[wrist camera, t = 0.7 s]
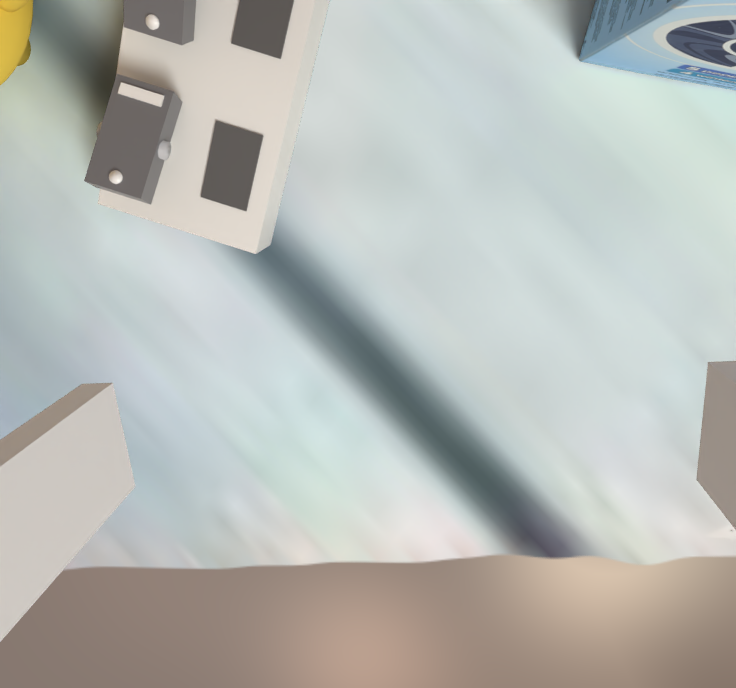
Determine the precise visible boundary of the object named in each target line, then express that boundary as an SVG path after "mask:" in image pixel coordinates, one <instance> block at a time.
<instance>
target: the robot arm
mask: <svg viewBox="0 0 736 688" xmlns="http://www.w3.org/2000/svg"><path fill="white" fill-rule="evenodd" d="M697 481H698V482H699V483H700V485H701V486H702V487H703V488H704V490H705V491H706V492H707V494H708V495H709V496H710V497H711V499H712V500H713V501H714V502H715V504H716V505H717V506H718V508H719V509H720V510H721V511H722V513H723V514H724V515H725V517H726V518H727V519H728V520H729V522H730V523H731V524H732V526H733V527H734V528H735V529H736V361H726V362H708V369H707V379H706V389H705V399H704V409H703V419H702V429H701V439H700V449H699V459H698V469H697ZM134 488H135V483H134V478H133V473H132V469H131V464H130V460H129V455H128V451H127V446H126V441H125V437H124V432H123V428H122V423H121V419H120V414H119V409H118V405H117V400H116V396H115V391H114V387H113V383H96V384H81V385H80V386H78V387H77V388H75V389H74V390H73V391H71V392H70V393H68V394H67V395H65V396H64V397H62V398H61V399H59V400H58V401H56V402H55V403H54V404H52V405H51V406H49V407H48V408H46V409H45V410H43V411H42V412H40V413H39V414H37V415H36V416H34V417H33V418H32V419H30V420H29V421H27V422H26V423H24V424H23V425H21V426H20V427H18V428H17V429H15V430H14V431H13V432H11V433H10V434H8V435H7V436H5V437H4V438H2V439H1V440H0V641H1V640H2V639H3V638H4V637H5V636H6V635H7V633H8V632H9V631H10V630H11V629H12V628H13V626H14V625H15V624H16V623H17V622H18V621H19V620H20V619H21V617H22V616H23V615H24V614H25V613H26V612H27V610H28V609H29V608H30V607H31V606H32V605H33V604H34V602H35V601H36V600H37V599H38V598H39V597H40V596H41V594H42V593H43V592H44V591H45V590H46V589H47V587H48V586H49V585H50V584H51V583H52V582H53V581H54V579H55V578H56V577H57V576H58V575H59V574H60V573H61V571H62V570H63V569H64V568H65V567H66V566H67V565H68V563H69V562H70V561H71V560H72V559H73V558H74V557H75V555H76V554H77V553H78V552H79V551H80V550H81V548H82V547H83V546H84V545H85V544H86V543H87V542H88V540H89V539H90V538H91V537H92V536H93V535H94V534H95V532H96V531H97V530H98V529H99V528H100V527H101V526H102V524H103V523H104V522H105V521H106V520H107V519H108V517H109V516H110V515H111V514H112V513H113V512H114V511H115V509H116V508H117V507H118V506H119V505H120V504H121V503H122V501H123V500H124V499H125V498H126V497H127V496H128V495H129V493H130V492H131V491H132V490H133V489H134Z"/></svg>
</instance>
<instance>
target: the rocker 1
mask: <svg viewBox="0 0 736 688" xmlns="http://www.w3.org/2000/svg"><path fill="white" fill-rule="evenodd" d="M195 12H196V0H124V27H125V28H128V29H131V30H134V31H137V32H141V33H144V34H147V35H150V36H153V37H156V38H160V39H163V40H166V41H169V42H172V43H176V44H179V45H184V44H187V43H189V42H191V41H194V29H195Z"/></svg>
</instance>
